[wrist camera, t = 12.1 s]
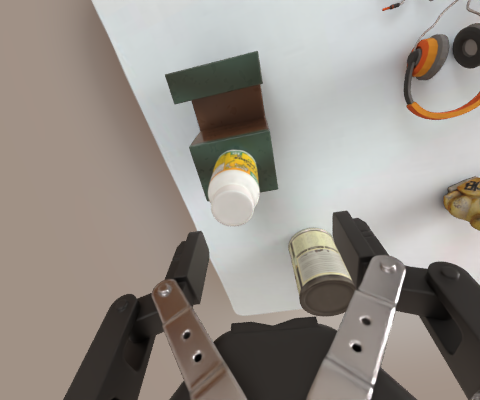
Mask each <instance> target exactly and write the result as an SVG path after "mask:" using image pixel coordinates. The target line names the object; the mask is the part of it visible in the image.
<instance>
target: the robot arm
mask: <svg viewBox="0 0 480 400" xmlns="http://www.w3.org/2000/svg"><path fill="white" fill-rule="evenodd" d="M333 239H334V242H335V245H336V247H337V249H338V251H339V253H340V256H341V258H342V260H343V262H344V264H345V266H346V269H347V271H348V273H349V275H350V277H351V279H352V281H353V284H354V286H355V288H356V290H355V292H354V294H353V296H352V298H351V301H350V303H349V305H348V308H347V310H346V312H345V315H344V317H343V319H342V322H341V324H340V326H339V329H338V331H337V330H335V329H333V328H331V327H329V326H326V325H322V324H318V323H317V319H316V317H305V318H294V319H291V320H289V321H286V322H283V323H280V324H277V325H274V326H271V325H266V324H260V323H255V322H246V323H245V322H244V323H232V324H231V331H229V332H227V333H225V334H223V335H221V336H220V337H219V338H217V339H216V340H215V341H214V342H213V341H212V340H211V338H210V336H209V335H208V333H207V331H206V329H205V328H204V326H203V324H202V323H201V322H200V319H199V318H198V316H197V314H196V313H195V311H194V309H193V305H195V304H200V301H201V296H202V291H203V286H204V281H205V277H206V271H207V267H208V262H209V249H208V246H207V243H206V241H205V238H204V235H203V233H202V231H197V232H190V233H189V234H188V237H187V240H186V241H183V242H181V244H180V245H179V246H178V247H177V249H176V252H175V254H174V257H173V260H172V262H171V265H170V267H169V270H168V272H167V275H166V277H165V280H164V281H162V282H160V283H159V284H157V285H156V286H155V288H154V289H153V291H152V293H150V294H148V295H146V296H143V297H140V298H138V299H137V298H136V297H135V296H134V295H132V294H126V295H123V296H121V297H120V298H118V299H117V300H116V301H115V302H114V303H113V304H112V305H111V307H110V308H109V310H108V312H107V314H106V316H105V318H104V320H103V322H102V324H101V326H100V328H99V330H98V332H97V334H96V336H95V338H94V340H93V342H92V344H91V346H90V348H89V350H88V352H87V354H86V356H85V358H84V360H83V362H82V364H81V366H80V368H79V370H78V372H77V374H76V376H75V378H74V380H73V382H72V384H71V386H70V388H69V389H68V392H67V393H66V395H65V397H64V399H63V400H138V396H139V393H140V389H141V386H142V382H143V378H144V375H145V372H146V368H147V365H148V361H149V358H150V354H151V351H152V347H153V344H154V340H155V336H156V335H157V334H160V333H162V332H164V333H165V335H166V337H167V340H168V342H169V345H170V347H171V350H172V352H173V354H174V357H175V359H176V362H177V364H178V367H179V369H180V371H181V374H182V376H183V379H184V381H183V383H182V384H181V385H180V386H179V388H178V389H177V390H176V392H175V393H174V394H173V396H172V397H171V398H170V400H417V399H416V398H415V397H414V396H412V395H411V394H410V393H409V392H408V391H407V390H406V389H404V388H403V387H402V386H401V385H400V384H399V383H397V381H395V380H394V379H393V378H392V377H391V376H390V375H389V374H387V373H386V372H385V371H384V370H383V369H382V368H381V365H382V361H383V358H384V354H385V350H386V346H387V342H388V338H389V334H390V331H391V327H392V323H393V320H394V316H395V312H396V311H400V312H405V313H410V314H415V315H419V316H420V318H421V320H422V321H423V323H424V325H425V327H426V328H427V330H428V332H429V333H430V335H431V337H432V338H433V340H434V342H435V344H436V345H437V347H438V349H439V350H440V352H441V354H442V356H443V357H444V359H445V361H446V362H447V364H448V366H449V367H450V369H451V371H452V373H453V374H454V376H455V378H456V379H457V381H458V383H459V385H460V386H461V388H462V390H463V391H464V393H465V395H466V397H467V398H468V400H480V285H479V284H478V283H477V282H476V281H475V280H474V279H473V278H472V277H471V276H470V274H469V273H468V272H467V271H465V270H464V269H463V268H461V267H459V266H457V265H455V264H452V263H448V262H434V263H432V264H430V265H429V267H428V269H423V268H416V267H409V266H405V265H404V264H403V263H402V262H401V261H400V260H398V259H396V258H394V257H392V256H389V255H388V253H387V252H386V250H385V249H384V248H383V246H382V245H381V243H380V242H379V240H378V239H377V238H376V236H374V233H373V232H372V231H371V229H370V228H369V226H368V225H367V224H366V223H365V222H364V221H362V220H361V219H359V218H354V219H352V217H351V216H350V214H349V213H348V211H341V212H334V213H333Z"/></svg>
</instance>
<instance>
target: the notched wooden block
mask: <svg viewBox="0 0 480 400" xmlns="http://www.w3.org/2000/svg"><path fill="white" fill-rule="evenodd" d="M165 77H166V80H167V83H168V86H169V89H170V92H171V95H172V98H173V101H174V104H178V103H183V102H187V101H191V100H192V104H193V107H194V110H195V114H196V117H197V121H198V124H199V127H200V132H199V134H198V135H197V137H196V138H195V140H194V141H193V142H192V144H191V145H190V147H189V149H190V152H191V155H192V158H193V161H194V163H195V166H196V169H197V172H198V175H199V178H200V181H201V184H202V187H203V190H204V193H205V196H206V199H207V201H209V198H208V188H209V184H210V181H211V177H212V174H213V170H214V167H215V164H216V161H217V160H218V158H219V157H220V156H221V155H222V154H223V153H224V152H226V151H229V150H242V151H245V152H247V153H248V154H250V155H251V156H252V157H253V159H254V160H255V162H256V166H257V173H258V183H259V190H260V192H265V191H271V190H277V189H278V184H277V178H276V171H275V164H274V157H273V150H272V144H271V137H270V131H269V127H268V124H267V121H266V118H265V113H264V106H263V99H262V93H261V86H260V84H262V83H263V82H262V76H261V69H260V62H259V55H258V51H255V52H252V53H248V54H244V55H240V56H236V57H232V58H228V59H224V60H220V61H216V62H212V63H209V64H205V65H201V66H197V67H193V68H189V69H185V70H181V71H177V72H173V73H169V74H165Z"/></svg>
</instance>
